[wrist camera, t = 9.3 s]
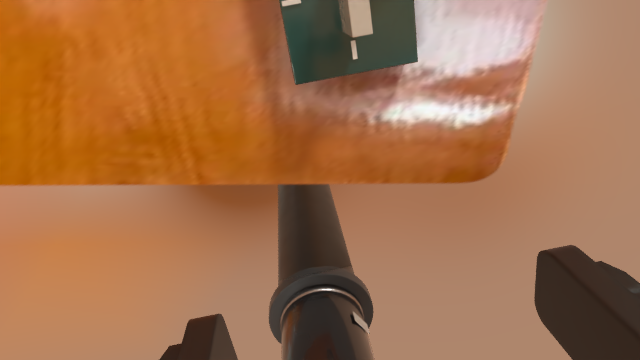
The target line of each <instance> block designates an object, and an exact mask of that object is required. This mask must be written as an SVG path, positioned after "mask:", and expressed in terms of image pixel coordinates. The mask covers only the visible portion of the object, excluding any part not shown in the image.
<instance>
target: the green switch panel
mask: <svg viewBox="0 0 640 360" xmlns="http://www.w3.org/2000/svg"><path fill="white" fill-rule="evenodd" d="M369 2H370V11H371V20H372V29H373V34H370V35H365V36H359V37H354V38H353V37H351V36H349V35H347V34H345V33H343V30H342V23H341V15H340V8H339V1H338V0H279V3H280V8H281V14H282V19H283V24H284V29H285V34H286V40H287V45H288V50H289V55H290V61H291V66H292V71H293V76H294V81H295V84H296V85H297V84H303V83H308V82H313V81H319V80H324V79H329V78H335V77H340V76H345V75H351V74H356V73H361V72H367V71H372V70H377V69H383V68H388V67H393V66H398V65H404V64H409V63H414V62H418V57H417V41H416V26H415V11H414V0H369Z"/></svg>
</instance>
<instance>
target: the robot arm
mask: <svg viewBox="0 0 640 360" xmlns="http://www.w3.org/2000/svg"><path fill="white" fill-rule="evenodd" d="M535 306H536V310H537V312H538V315H539V317H540V319H541V321H542V322H543V324H544V325H545V326H546V328H547V329H548V330H549V331H550V333H551V334H552V335H553V336H554V337H555V338H556V340H557V341H558V342H559V344H560V345H561V346H562V347H563V348H564V350H565V351H566V352H567V353H568V355H569V356H570V357H571V358H572V359H573V360H640V283H639V282H637V281H636V280H635V279H634V278H632V277H631V276H630V275H628V274H627V273H626V272H624V271H622V270H620V269H617V268H615V267H613V266H611V265H609V264H606V263H604V262H602V261H599V262H594V261H593V260H592V259H591V258H590V257H588V256H587V255H586V254H585V253H584V252H582V251H581V250H580V249H579V248H577V247H576V246H573V245H569V246H563V247H559V248H553V249H548V250H544V251H540V252H539V254H538V257H537V268H536V284H535ZM280 328H281V338H282V344H281V349H282V350H281V354H282V360H375V358H374V355H373V351H372V347H371V344H370V340H369V336H368V333H369V330H368V326H367V324H366V323H365V321H364V314H363V310H362V307H361V304H360V302H359V300H358V299H357V297H356V296H355V295H354V294H353V293H352V292H350V291H349V290H347V289H345V288H343V287H340V286H337V285H331V284H319V285H313V286H309V287H306V288H304V289H302V290H300V291H298V292H297V293H295V294H294V295H293V296H291V297H290V298H289V299H288V301H287V302H286V303H285V305H284V307H283V309H282V312H281V316H280ZM160 360H238V359H237V356H236V353H235V350H234V347H233V344H232V341H231V338H230V335H229V332H228V330H227V327H226V324H225V321H224V319H223V316H222V315H221V314H215V315H210V316H205V317H201V318H195V319H191V320H189V322H188V323H187V327H186V330H185V334H184V338H183V341H182V344H177V345H172V346H169V347H168V349H167V350H166V352H165V353H164V354H163V356H162V357H161V358H160Z"/></svg>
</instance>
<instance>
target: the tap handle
mask: <svg viewBox="0 0 640 360" xmlns="http://www.w3.org/2000/svg"><path fill="white" fill-rule="evenodd" d="M338 1H339V8H340V15H341V23H342V30H343V33H345V34H347V35H349V36H351V37H353V38H354V37H359V36H365V35H370V34H373V29H372V20H371V11H370V2H369V0H338Z"/></svg>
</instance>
